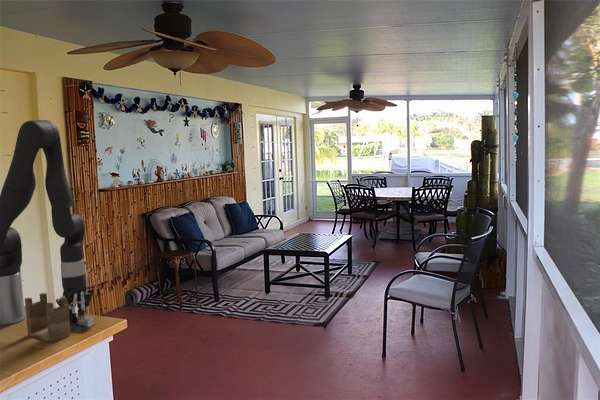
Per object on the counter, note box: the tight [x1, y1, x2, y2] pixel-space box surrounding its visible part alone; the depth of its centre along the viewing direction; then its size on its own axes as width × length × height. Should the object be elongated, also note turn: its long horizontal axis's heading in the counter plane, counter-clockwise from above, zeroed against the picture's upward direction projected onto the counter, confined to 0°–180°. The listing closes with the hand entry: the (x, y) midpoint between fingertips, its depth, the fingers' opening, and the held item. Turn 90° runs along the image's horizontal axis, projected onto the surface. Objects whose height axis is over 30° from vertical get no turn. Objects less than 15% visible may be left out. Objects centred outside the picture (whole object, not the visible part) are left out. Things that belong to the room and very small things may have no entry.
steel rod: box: [75, 312, 95, 328], centre depth 173 cm, size 14×2×2 cm, turn 60°
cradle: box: [24, 292, 72, 343], centre depth 165 cm, size 13×6×12 cm, turn 61°
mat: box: [70, 322, 96, 332], centre depth 174 cm, size 10×6×1 cm, turn 61°
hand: (77, 321), depth 173 cm, fingers closed on steel rod, 2 cm apart
